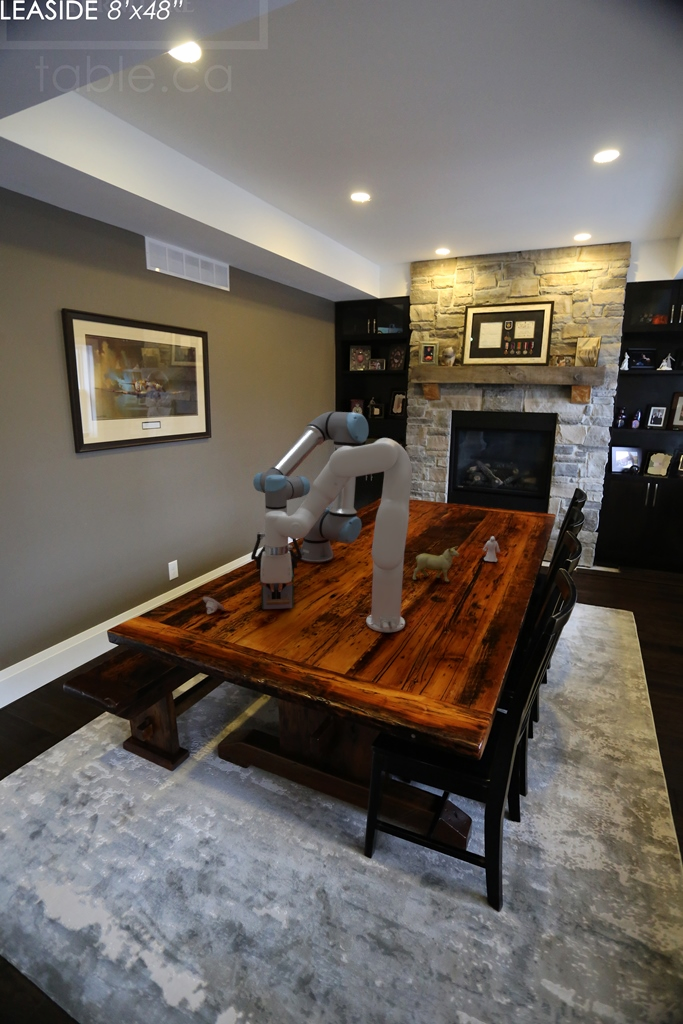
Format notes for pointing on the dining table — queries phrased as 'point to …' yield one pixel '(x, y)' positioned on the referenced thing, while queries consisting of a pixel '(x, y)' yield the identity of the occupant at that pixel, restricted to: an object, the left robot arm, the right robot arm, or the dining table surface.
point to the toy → (436, 563)
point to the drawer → (277, 603)
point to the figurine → (491, 550)
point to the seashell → (212, 605)
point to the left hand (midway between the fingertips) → (277, 576)
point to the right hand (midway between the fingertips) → (276, 601)
